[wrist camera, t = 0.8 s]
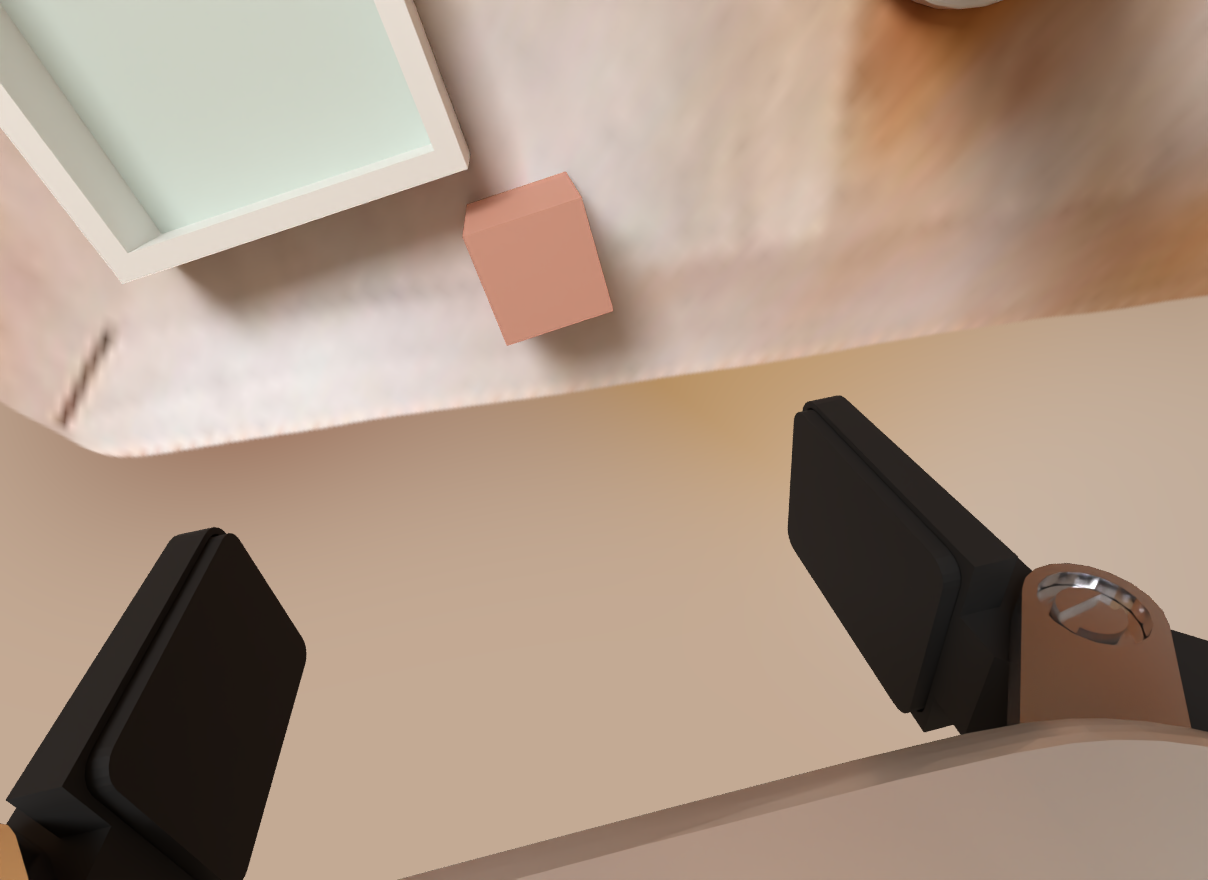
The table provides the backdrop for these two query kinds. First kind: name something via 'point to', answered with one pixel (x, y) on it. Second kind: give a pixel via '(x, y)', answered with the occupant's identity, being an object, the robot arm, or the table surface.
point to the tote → (220, 116)
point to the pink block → (536, 258)
